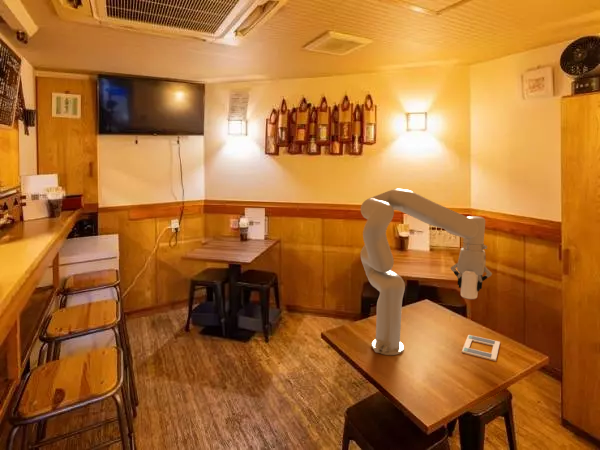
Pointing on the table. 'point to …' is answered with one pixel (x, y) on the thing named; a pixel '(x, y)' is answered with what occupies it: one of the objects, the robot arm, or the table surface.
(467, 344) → the label board
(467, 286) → the can
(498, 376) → the table surface
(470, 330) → the table surface
